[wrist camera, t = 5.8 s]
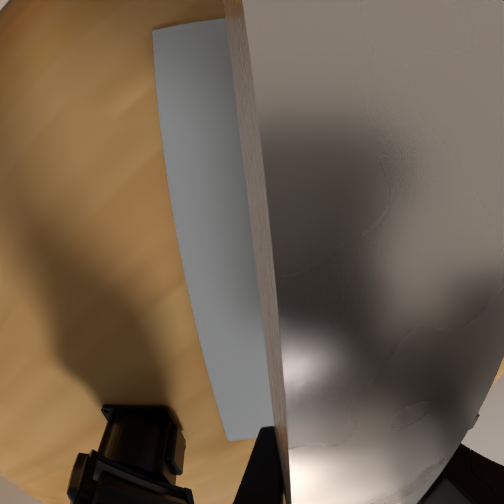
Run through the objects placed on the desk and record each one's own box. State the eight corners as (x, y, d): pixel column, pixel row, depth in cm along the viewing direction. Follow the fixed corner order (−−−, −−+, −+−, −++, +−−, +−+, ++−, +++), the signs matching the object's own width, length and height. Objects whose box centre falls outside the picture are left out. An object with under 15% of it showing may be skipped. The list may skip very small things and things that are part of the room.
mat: (227, 436, 24) (228, 440, 24) (153, 33, 14) (152, 30, 13) (344, 417, 24) (345, 421, 24) (333, 19, 14) (335, 16, 14)
